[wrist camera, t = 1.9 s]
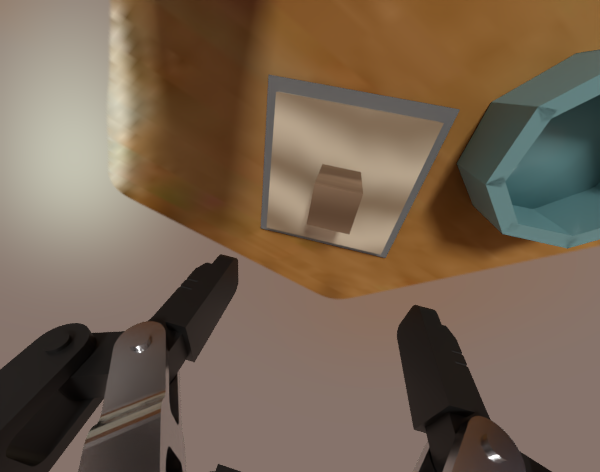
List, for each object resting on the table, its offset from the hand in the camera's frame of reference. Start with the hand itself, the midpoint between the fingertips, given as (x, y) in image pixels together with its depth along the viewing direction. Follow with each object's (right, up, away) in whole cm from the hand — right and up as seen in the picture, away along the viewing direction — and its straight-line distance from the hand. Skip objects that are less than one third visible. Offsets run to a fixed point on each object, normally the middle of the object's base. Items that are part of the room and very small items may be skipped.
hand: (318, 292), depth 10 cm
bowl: (+18, +9, +7) cm, 22 cm away
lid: (+3, +8, +11) cm, 14 cm away
